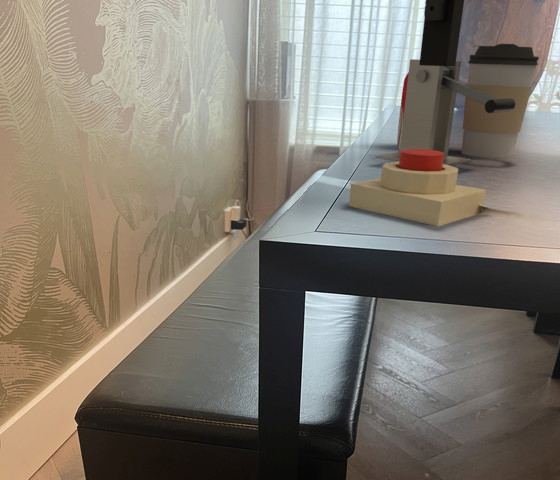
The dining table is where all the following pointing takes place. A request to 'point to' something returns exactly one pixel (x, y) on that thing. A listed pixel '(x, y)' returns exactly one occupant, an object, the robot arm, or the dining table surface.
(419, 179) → the button block
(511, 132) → the coffee cup
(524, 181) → the dining table surface
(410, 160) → the button
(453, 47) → the robot arm
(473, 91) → the lever
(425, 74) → the bracket
